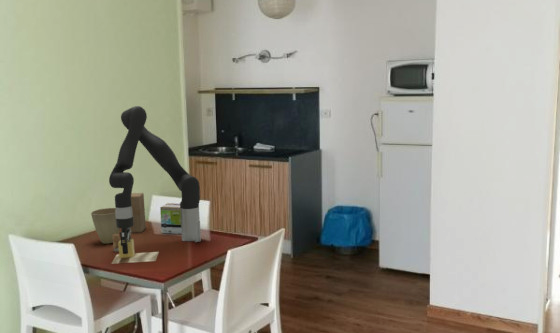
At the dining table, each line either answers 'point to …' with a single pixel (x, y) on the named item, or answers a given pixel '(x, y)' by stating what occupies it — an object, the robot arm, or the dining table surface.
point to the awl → (116, 242)
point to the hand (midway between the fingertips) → (127, 251)
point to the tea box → (171, 218)
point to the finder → (130, 249)
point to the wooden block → (138, 212)
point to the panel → (137, 258)
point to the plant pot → (105, 224)
